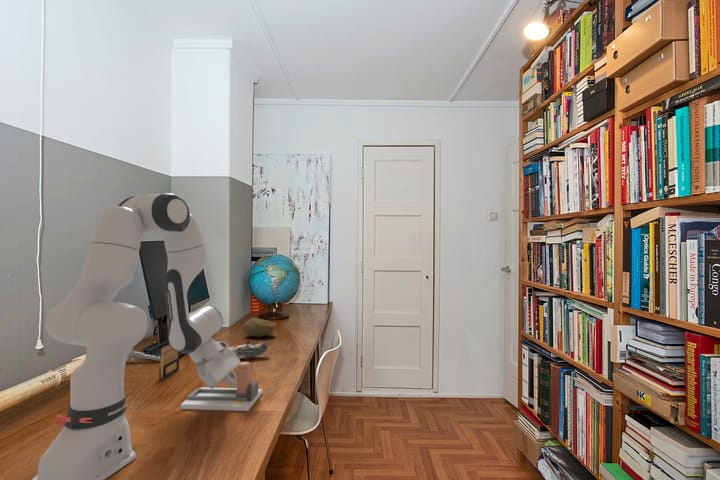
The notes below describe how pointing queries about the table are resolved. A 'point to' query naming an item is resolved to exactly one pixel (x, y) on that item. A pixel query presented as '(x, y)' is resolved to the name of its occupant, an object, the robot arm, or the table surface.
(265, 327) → the decorative stone
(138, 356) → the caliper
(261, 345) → the anime figure
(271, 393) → the table surface
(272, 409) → the table surface
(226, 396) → the rail board
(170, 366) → the ammunition clip
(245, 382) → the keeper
